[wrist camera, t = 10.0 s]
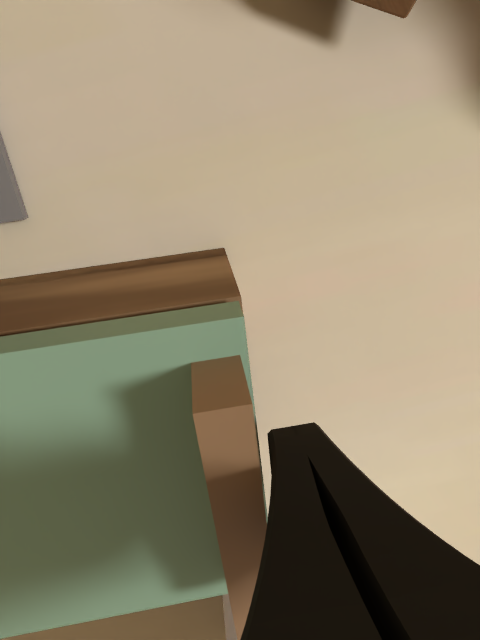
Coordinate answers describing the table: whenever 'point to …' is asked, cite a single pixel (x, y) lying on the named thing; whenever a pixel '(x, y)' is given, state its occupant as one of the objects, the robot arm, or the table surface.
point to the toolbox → (116, 291)
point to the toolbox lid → (128, 469)
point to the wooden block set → (390, 6)
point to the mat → (9, 191)
